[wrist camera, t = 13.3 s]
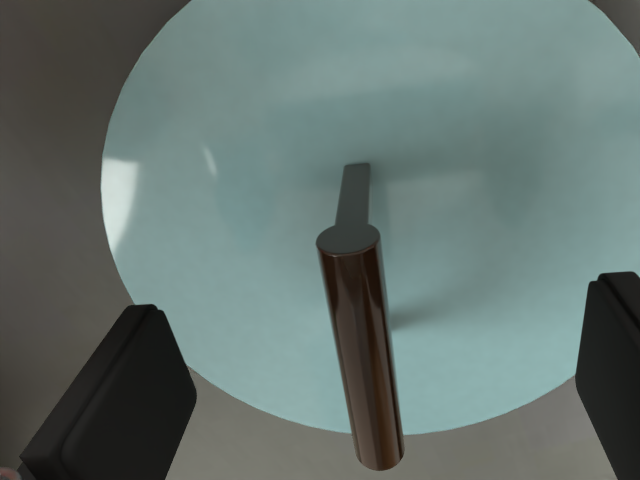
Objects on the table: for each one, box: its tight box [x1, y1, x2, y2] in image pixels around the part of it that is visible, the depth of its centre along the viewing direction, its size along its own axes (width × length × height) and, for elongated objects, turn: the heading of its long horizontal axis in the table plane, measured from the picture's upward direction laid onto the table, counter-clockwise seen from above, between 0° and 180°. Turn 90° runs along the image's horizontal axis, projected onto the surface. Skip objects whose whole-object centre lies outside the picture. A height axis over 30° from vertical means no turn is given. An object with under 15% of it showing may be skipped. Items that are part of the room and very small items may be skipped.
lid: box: [100, 0, 640, 471], centre depth 12 cm, size 16×16×6 cm
